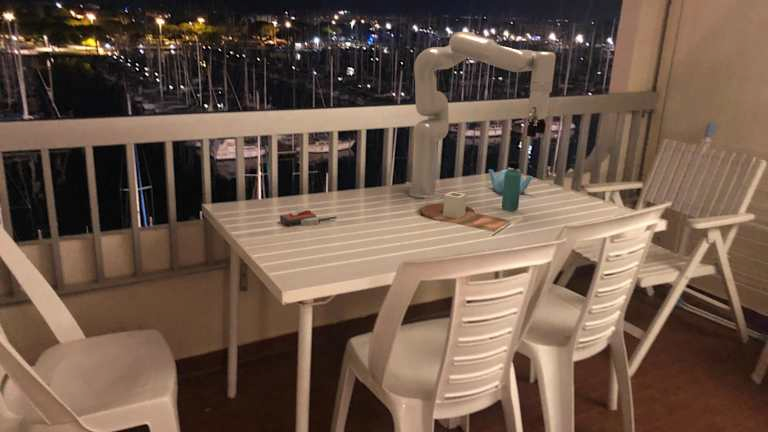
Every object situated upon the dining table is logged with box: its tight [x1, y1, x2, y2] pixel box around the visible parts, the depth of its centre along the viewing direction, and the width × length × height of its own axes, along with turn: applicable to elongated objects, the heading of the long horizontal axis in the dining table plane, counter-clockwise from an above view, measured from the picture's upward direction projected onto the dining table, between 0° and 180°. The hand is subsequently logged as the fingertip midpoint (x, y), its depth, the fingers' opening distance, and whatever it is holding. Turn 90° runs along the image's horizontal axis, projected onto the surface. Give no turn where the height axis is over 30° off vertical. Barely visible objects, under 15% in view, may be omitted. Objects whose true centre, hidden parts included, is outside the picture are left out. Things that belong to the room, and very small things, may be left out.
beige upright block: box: [442, 191, 467, 219], centre depth 221 cm, size 6×6×8 cm
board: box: [432, 210, 511, 237], centre depth 219 cm, size 24×16×6 cm, turn 57°
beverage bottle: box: [501, 161, 522, 212], centre depth 231 cm, size 6×7×20 cm
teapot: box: [488, 167, 533, 195], centre depth 263 cm, size 15×15×11 cm
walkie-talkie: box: [279, 208, 337, 228], centre depth 214 cm, size 9×4×20 cm
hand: (535, 134), depth 221 cm, fingers open, 9 cm apart
